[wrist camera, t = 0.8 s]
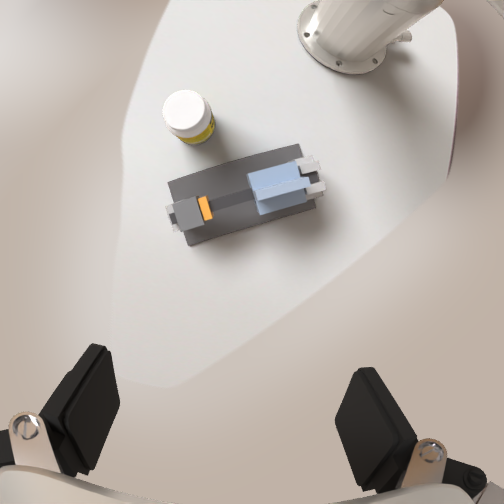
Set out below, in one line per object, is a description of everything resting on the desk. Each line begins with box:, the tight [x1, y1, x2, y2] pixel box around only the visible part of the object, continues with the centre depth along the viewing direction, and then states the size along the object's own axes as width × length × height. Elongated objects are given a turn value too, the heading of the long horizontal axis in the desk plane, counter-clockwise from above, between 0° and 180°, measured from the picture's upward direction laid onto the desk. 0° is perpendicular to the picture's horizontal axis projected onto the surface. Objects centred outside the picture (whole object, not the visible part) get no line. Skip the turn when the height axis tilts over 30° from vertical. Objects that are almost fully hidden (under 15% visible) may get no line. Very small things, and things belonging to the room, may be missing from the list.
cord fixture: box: [165, 144, 326, 246], centre depth 30 cm, size 16×8×7 cm, turn 106°
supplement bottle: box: [163, 90, 215, 145], centre depth 27 cm, size 5×5×8 cm
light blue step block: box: [246, 161, 311, 215], centre depth 27 cm, size 5×4×7 cm
